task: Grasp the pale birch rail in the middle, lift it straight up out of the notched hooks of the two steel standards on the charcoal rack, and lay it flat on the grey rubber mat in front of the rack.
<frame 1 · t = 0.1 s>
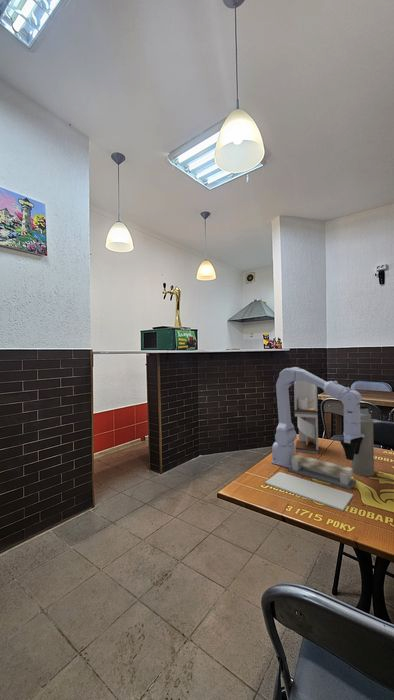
hand: (352, 456, 108), 10 cm above the table, tool pointing down, fingers open, 7 cm apart
mat: (306, 489, 103), on the table
display case: (307, 449, 144), on the table
rail: (320, 468, 113), point 3 cm above the table, touching rack
rack: (320, 476, 113), on the table
thermos bottle: (362, 472, 116), on the table
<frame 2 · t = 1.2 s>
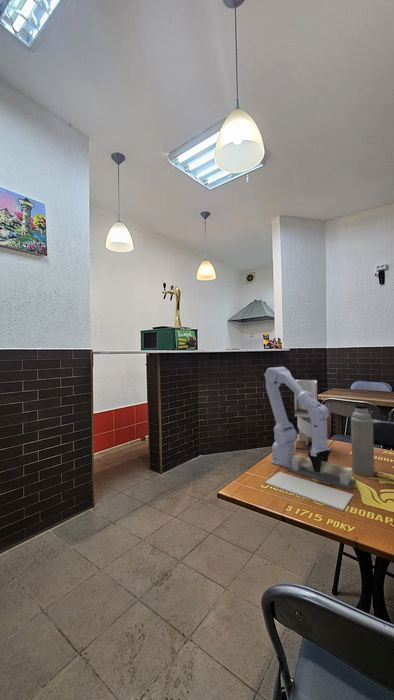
hand: (320, 468, 113), 3 cm above the table, tool pointing down, fingers open, 7 cm apart
nothing on the table moved.
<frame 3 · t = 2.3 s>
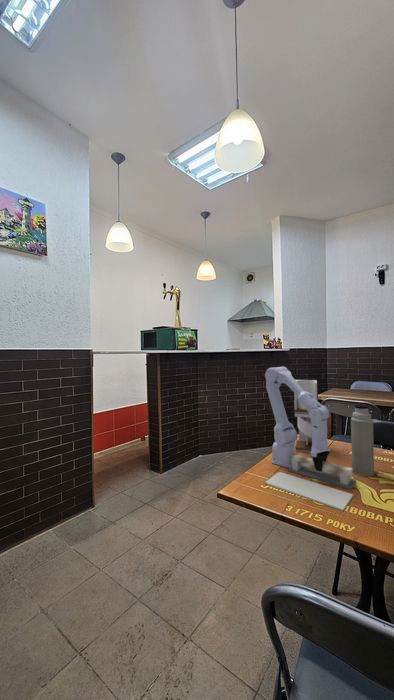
hand: (320, 469, 113), 3 cm above the table, tool pointing down, fingers closed on rail, 3 cm apart
rail: (320, 468, 113), point 3 cm above the table, touching gripper, rack
everything else where it was.
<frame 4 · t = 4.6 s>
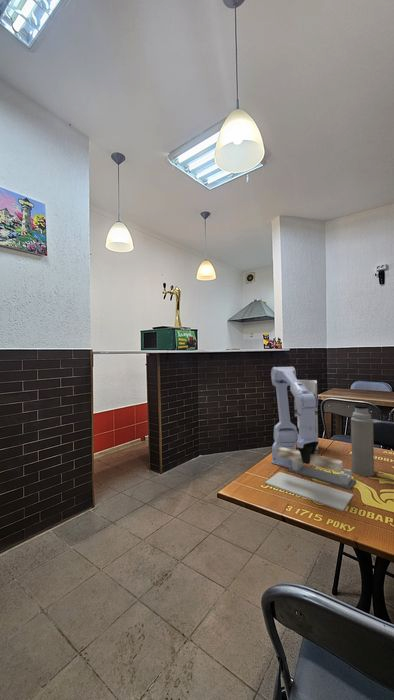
hand: (307, 461, 104), 10 cm above the table, tool pointing down, fingers closed on rail, 3 cm apart
rail: (308, 462, 104), point 10 cm above the table, touching gripper
everything else where it was.
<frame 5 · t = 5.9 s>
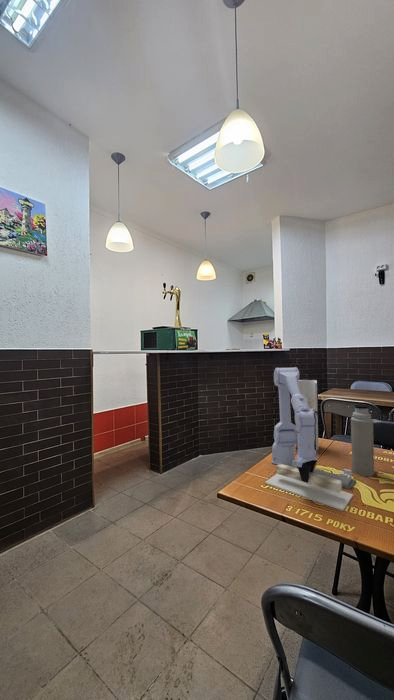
hand: (306, 479, 103), 4 cm above the table, tool pointing down, fingers closed on rail, 3 cm apart
rail: (306, 480, 103), point 3 cm above the table, touching gripper
everything else where it was.
when the fingers open (2 cm above the table, at t = 7.0 s): rail stays where it is, resting on mat.
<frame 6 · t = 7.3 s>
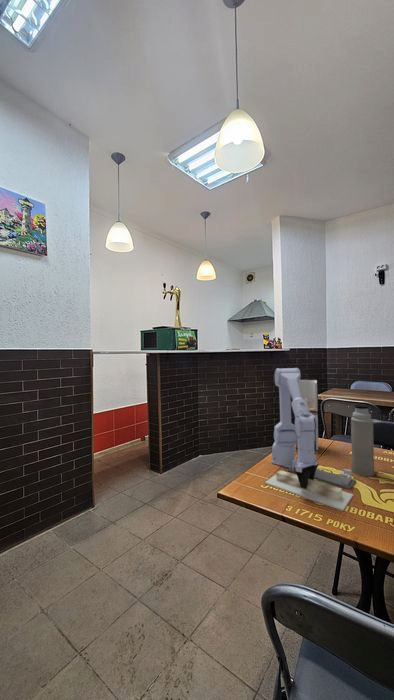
hand: (306, 484, 103), 2 cm above the table, tool pointing down, fingers open, 5 cm apart
rail: (306, 488, 103), point 1 cm above the table, touching mat
everything else where it was.
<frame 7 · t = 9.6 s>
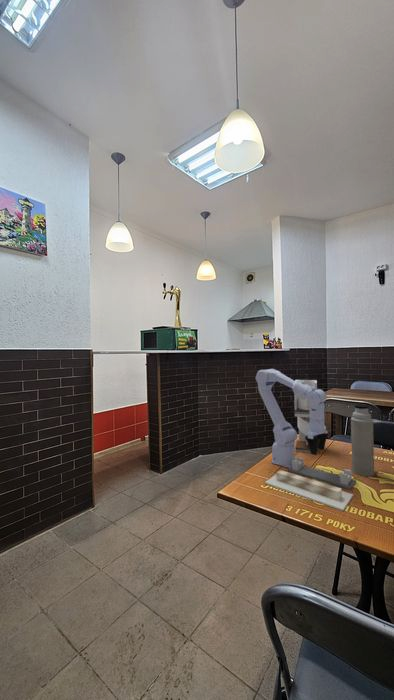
hand: (317, 451, 115), 9 cm above the table, tool pointing down, fingers open, 7 cm apart
nothing on the table moved.
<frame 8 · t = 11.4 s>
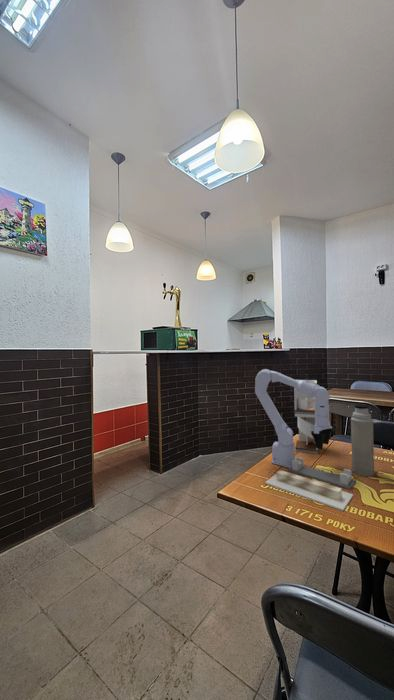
hand: (322, 446, 121), 9 cm above the table, tool pointing down, fingers open, 7 cm apart
nothing on the table moved.
at the end: rail 0.0 cm off-centre on the mat, point 0.6 cm above the mat's base; rail tilted 0°; the gripper is holding nothing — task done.
